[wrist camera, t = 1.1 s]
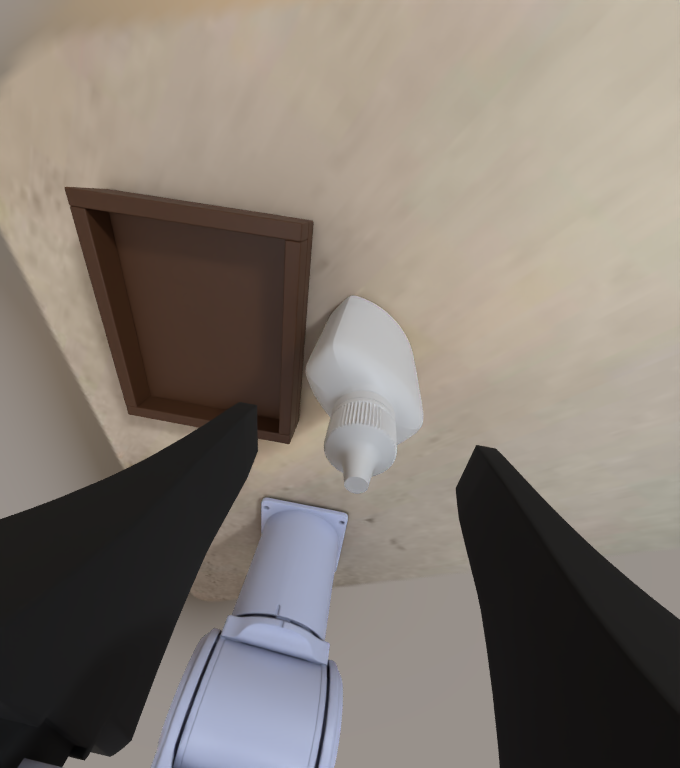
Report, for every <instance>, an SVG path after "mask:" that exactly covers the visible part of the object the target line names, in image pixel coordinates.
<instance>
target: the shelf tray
mask: <svg viewBox="0 0 680 768" xmlns="http://www.w3.org/2000/svg"><path fill="white" fill-rule="evenodd" d="M65 191H66V195H67V198H68V202H69V205H70V209H71V212H72V216H73V219H74V223H75V227H76V230H77V234H78V237H79V241H80V244H81V248H82V251H83V255H84V258H85V262H86V265H87V269H88V272H89V276H90V279H91V283H92V287H93V290H94V294H95V297H96V301H97V304H98V308H99V311H100V315H101V318H102V322H103V325H104V329H105V332H106V336H107V340H108V343H109V347H110V350H111V354H112V357H113V361H114V364H115V368H116V371H117V375H118V378H119V382H120V385H121V389H122V393H123V396H124V400H125V403H126V405H127V410H128V414H130V415H135V416H141V417H146V418H151V419H157V420H162V421H167V422H173V423H178V424H183V425H189V426H194V427H201V426H203V425H204V424H206V423H208V422H209V421H211V420H212V419H214V418H215V417H217V416H218V415H220V414H221V413H223V412H224V411H226V410H227V409H229V408H230V407H232V406H233V405H235V404H237V403H238V402H243V403H248V404H254V405H257V432H258V439H264V440H269V441H274V442H280V443H285V444H290V442H291V439H292V437H293V434H294V432H295V429H296V427H297V424H298V422H299V411H300V398H301V384H302V371H303V357H304V343H305V330H306V316H307V303H308V289H309V276H310V262H311V249H312V235H313V221H312V220H305V219H299V218H292V217H286V216H279V215H273V214H266V213H260V212H253V211H247V210H240V209H234V208H227V207H221V206H214V205H208V204H201V203H195V202H188V201H182V200H175V199H169V198H162V197H155V196H149V195H142V194H136V193H129V192H123V191H116V190H110V189H96V188H78V187H65Z"/></svg>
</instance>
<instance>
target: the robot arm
mask: <svg viewBox="0 0 680 768" xmlns="http://www.w3.org/2000/svg"><path fill="white" fill-rule="evenodd" d="M257 452H258V432H257V405H254V404H248V403H243V402H238V403H237V404H235V405H233V406H232V407H230V408H229V409H227V410H226V411H224V412H223V413H221V414H220V415H218V416H217V417H215V418H214V419H212V420H211V421H209V422H208V423H206V424H204V425H203V426H201V427H200V428H198V429H197V430H195V431H193V432H192V433H190V434H189V435H187V436H185V437H184V438H182V439H180V440H178V441H177V442H175V443H173V444H172V445H170V446H168V447H166V448H165V449H163V450H161V451H159V452H158V453H156V454H154V455H152V456H150V457H149V458H147V459H145V460H143V461H141V462H139V463H137V464H135V465H133V466H131V467H129V468H127V469H125V470H123V471H121V472H118V473H116V474H114V475H112V476H110V477H108V478H105V479H103V480H101V481H98V482H97V483H94V484H91V485H89V486H87V487H84V488H82V489H79V490H77V491H75V492H72V493H70V494H67V495H65V496H63V497H60V498H58V499H55V500H52V501H50V502H47V503H44V504H42V505H39V506H36V507H34V508H31V509H28V510H25V511H23V512H20V513H17V514H14V515H11V516H8V517H6V518H3V519H0V768H62V766H63V765H64V763H65V761H66V760H67V758H68V757H73V758H77V759H81V760H85V759H86V758H87V757H88V755H89V754H90V752H93V753H97V754H101V755H105V756H109V757H110V756H112V755H114V754H116V753H117V752H119V751H120V750H121V749H122V748H124V747H125V746H126V745H127V744H128V743H129V742H130V741H131V740H132V737H133V735H134V732H135V730H136V727H137V724H138V721H139V718H140V716H141V713H142V710H143V708H144V705H145V702H146V700H147V697H148V694H149V692H150V689H151V686H152V684H153V681H154V678H155V676H156V673H157V670H158V668H159V665H160V663H161V660H162V658H163V655H164V653H165V650H166V648H167V645H168V643H169V640H170V638H171V635H172V633H173V630H174V627H175V625H176V622H177V620H178V618H179V616H180V613H181V611H182V608H183V606H184V604H185V601H186V599H187V596H188V594H189V592H190V589H191V587H192V585H193V582H194V580H195V578H196V576H197V573H198V571H199V569H200V566H201V564H202V562H203V560H204V557H205V555H206V553H207V551H208V549H209V547H210V545H211V543H212V541H213V539H214V537H215V536H216V534H217V532H218V530H219V528H220V527H221V525H222V523H223V521H224V519H225V517H226V516H227V514H228V512H229V510H230V508H231V507H232V505H233V503H234V501H235V499H236V498H237V496H238V494H239V492H240V490H241V488H242V487H243V485H244V483H245V481H246V479H247V477H248V475H249V472H250V470H251V467H252V465H253V462H254V460H255V457H256V454H257ZM456 497H457V507H458V514H459V521H460V525H461V529H462V534H463V538H464V542H465V546H466V550H467V554H468V558H469V562H470V566H471V570H472V574H473V578H474V582H475V586H476V590H477V594H478V599H479V604H480V609H481V614H482V621H483V627H484V634H485V641H486V647H487V653H488V662H489V669H490V677H491V685H492V692H493V702H494V711H495V721H496V730H497V740H498V749H499V761H500V762H499V763H500V768H680V619H678V618H677V617H675V616H674V615H673V614H672V613H671V612H669V611H668V610H667V609H666V608H664V607H663V606H661V605H660V604H659V603H658V602H657V601H655V600H654V599H653V598H651V597H650V596H649V595H648V594H647V593H645V592H644V591H643V590H642V589H640V588H639V587H638V586H637V585H635V584H634V583H633V582H632V581H631V580H629V578H627V577H626V576H625V575H624V574H623V573H622V572H620V571H619V570H618V569H617V568H616V567H614V566H613V565H612V564H611V563H610V562H609V561H608V560H607V559H605V558H604V557H603V556H602V555H601V554H600V553H599V552H598V551H596V550H595V549H594V548H593V547H592V546H591V545H590V544H589V543H588V542H587V541H586V540H585V539H584V538H582V537H581V536H580V535H579V534H578V533H577V532H576V531H575V530H574V529H573V528H572V527H571V526H570V525H569V524H568V523H567V522H566V521H565V520H564V519H563V518H562V517H561V516H560V515H559V514H558V513H557V512H556V511H555V510H554V509H553V508H552V507H551V506H550V505H549V504H548V503H547V502H546V501H545V500H544V499H543V498H542V497H541V496H540V495H539V494H538V493H537V491H536V490H535V489H534V488H533V487H532V486H531V485H530V484H529V483H528V482H527V481H526V480H525V479H524V478H523V476H522V475H521V474H520V473H519V472H518V471H517V470H516V469H515V468H514V467H513V466H512V465H511V464H510V463H509V461H508V460H507V459H506V458H505V457H504V456H503V455H502V454H501V453H500V452H499V451H498V450H497V449H495V448H490V447H484V446H479V445H476V447H475V449H474V451H473V453H472V455H471V457H470V459H469V462H468V464H467V466H466V468H465V470H464V472H463V474H462V476H461V478H460V480H459V483H458V485H457V487H456ZM347 521H348V515H347V514H346V513H344V512H339V511H334V510H329V509H324V508H319V507H314V506H309V505H303V504H298V503H293V502H288V501H283V500H278V499H273V498H267V497H266V498H263V500H262V502H261V533H262V535H261V538H260V541H259V543H258V546H257V549H256V551H255V554H254V557H253V559H252V562H251V565H250V567H249V570H248V573H247V575H246V578H245V581H244V583H243V586H242V589H241V591H240V594H239V597H238V599H237V602H236V605H235V607H234V610H233V613H232V615H228V617H227V620H226V622H225V625H224V627H223V630H222V631H221V630H220V629H217V628H213V629H212V630H211V631H210V632H209V633H207V634H206V635H204V636H203V637H202V638H201V639H200V641H199V643H198V645H197V646H196V648H195V650H194V652H193V654H192V656H191V659H190V661H189V663H188V665H187V667H186V669H185V672H184V674H183V676H182V679H181V681H180V683H179V686H178V688H177V691H176V694H175V696H174V698H173V701H172V703H171V706H170V709H169V712H168V714H167V717H166V720H165V723H164V726H163V729H162V732H161V735H160V738H159V742H158V748H157V752H156V754H155V757H154V760H153V762H152V765H151V768H334V766H335V761H336V756H337V750H338V745H339V738H340V729H341V720H342V707H343V686H342V679H341V675H340V673H339V671H338V668H337V665H336V663H335V662H334V661H333V660H328V655H329V648H330V643H329V642H326V641H325V634H326V628H327V620H328V614H329V606H330V598H331V592H332V585H333V578H334V572H336V570H337V565H338V561H339V556H340V552H341V548H342V543H343V539H344V534H345V530H346V525H347ZM221 632H222V633H221Z"/></svg>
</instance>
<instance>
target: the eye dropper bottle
mask: <svg viewBox="0 0 680 768" xmlns="http://www.w3.org/2000/svg"><path fill="white" fill-rule="evenodd" d="M306 377H307V380H308V383H309V385H310V387H311V389H312V391H313V393H314V395H315V397H316V399H317V400H318V402H319V403H320V405H321V406H322V408H323V409H324V410H325V412H326V413H327V414H328V415H329V417H330V422H329V426H328V430H327V434H326V438H325V441H324V451H325V455H326V457H327V459H328V460H329V462H330V463H331V464H332V465H333V466H334V467H335V468H336V469H338V470H339V471H341V472H343V475H344V485H345V488H346V489H347V490H348V491H350V492H352V493H357V494H358V493H363V492H365V491H366V490H367V489H368V486H369V483H370V479H371V477H372V476H376V475H378V474H381V473H383V472H384V471H386V470H387V469H388V468H390V466H391V465H392V463H394V460H395V458H396V454H397V445H398V444H400V443H402V442H403V441H405V440H407V439H408V438H410V437H411V436H412V435H414V434H415V433H416V432H417V431H418V430H419V429H420V428H421V426H422V424H423V408H422V401H421V395H420V389H419V383H418V378H417V372H416V367H415V361H414V356H413V352H412V348H411V345H410V343H409V341H408V339H407V337H406V335H405V333H404V331H403V330H402V328H401V327H400V326H399V324H398V323H397V322H396V321H395V320H394V319H393V317H392V316H390V315H389V314H388V313H387V312H386V311H385V310H383V309H382V308H381V307H379V306H378V305H376V304H374V303H372V302H371V301H369V300H367V299H364V298H362V297H359V296H349V297H347V298H346V299H345V300H344V301H343V302H342V303H341V304H340V305H339V306H338V307H337V308H336V309H335V310H334V311H333V312H332V313H331V315H330V317H329V319H328V321H327V323H326V325H325V327H324V329H323V331H322V333H321V335H320V337H319V339H318V341H317V343H316V345H315V347H314V349H313V351H312V354H311V356H310V358H309V360H308V363H307V365H306Z"/></svg>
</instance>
